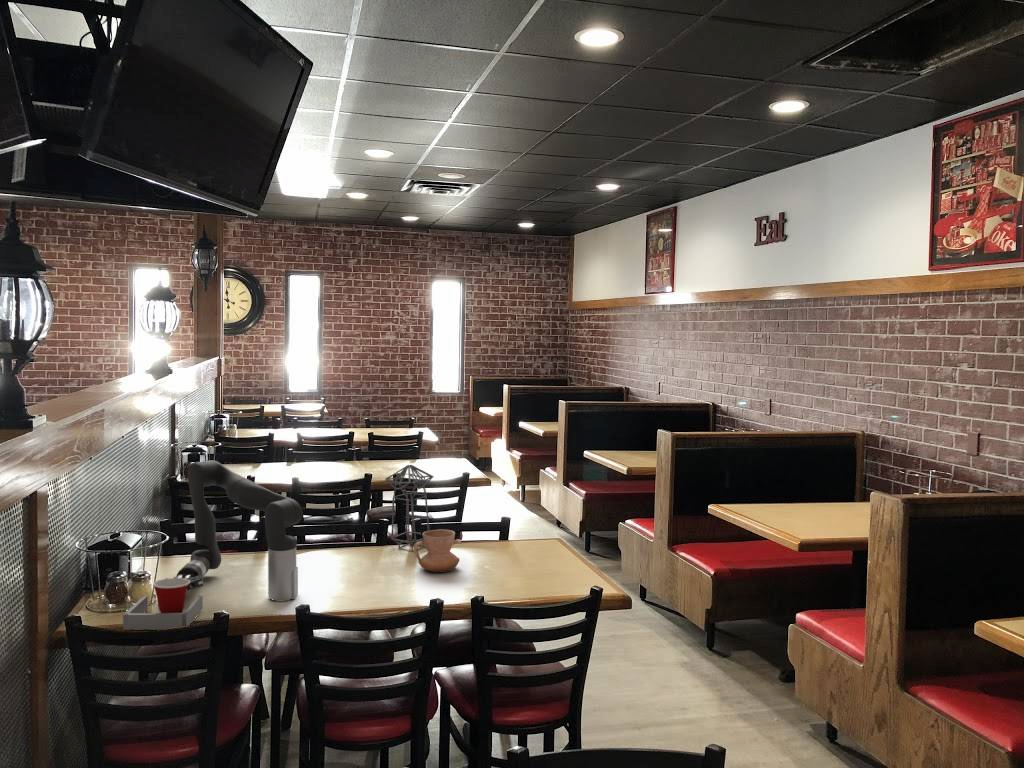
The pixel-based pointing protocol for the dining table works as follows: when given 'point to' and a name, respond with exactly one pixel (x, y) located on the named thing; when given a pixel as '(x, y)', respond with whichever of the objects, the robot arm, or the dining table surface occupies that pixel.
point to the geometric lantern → (402, 474)
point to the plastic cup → (171, 594)
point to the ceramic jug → (438, 551)
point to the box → (159, 616)
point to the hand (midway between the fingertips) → (175, 591)
